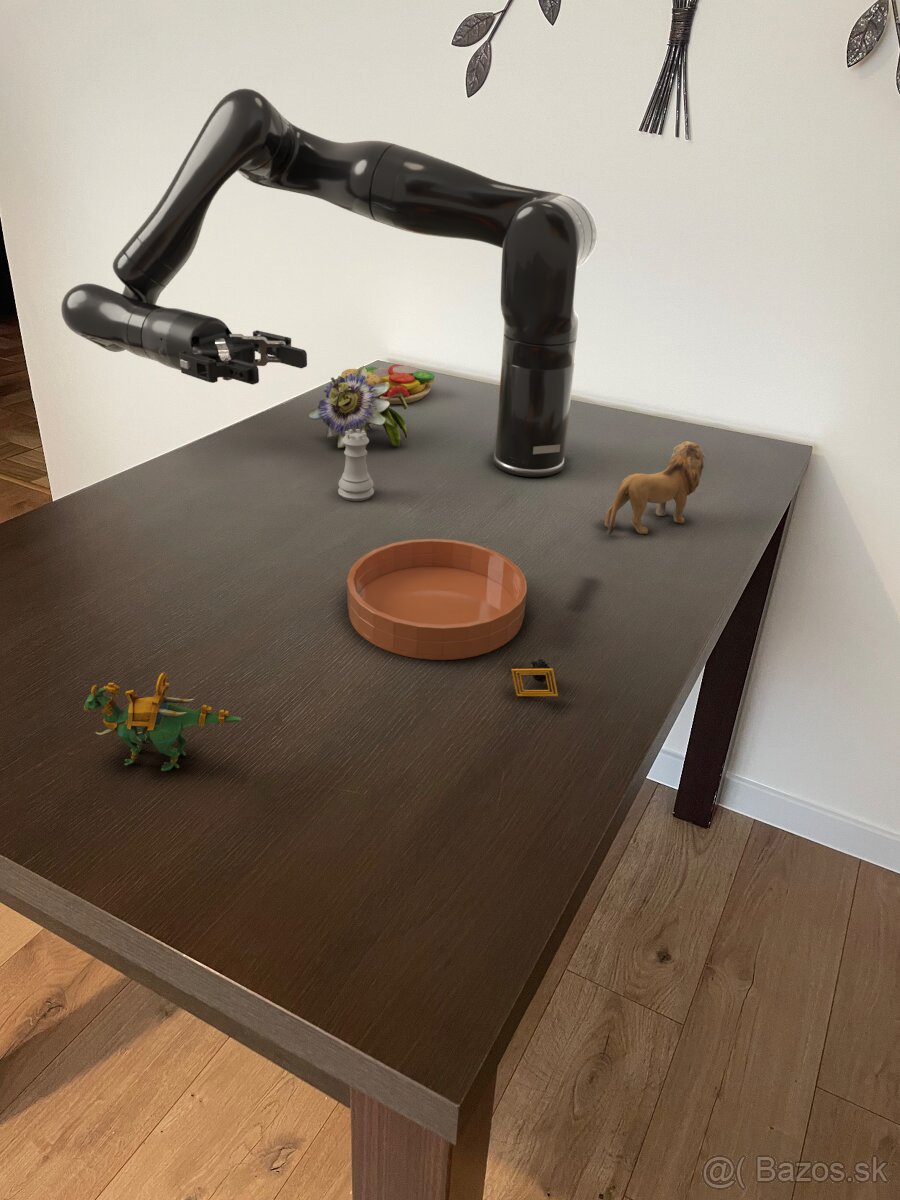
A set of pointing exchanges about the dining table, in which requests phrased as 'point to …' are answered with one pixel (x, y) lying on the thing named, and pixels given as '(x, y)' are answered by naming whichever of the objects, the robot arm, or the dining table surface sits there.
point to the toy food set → (399, 382)
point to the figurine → (152, 719)
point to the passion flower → (358, 408)
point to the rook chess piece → (355, 468)
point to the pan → (436, 599)
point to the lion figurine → (660, 487)
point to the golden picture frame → (536, 678)
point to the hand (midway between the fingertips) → (281, 367)
